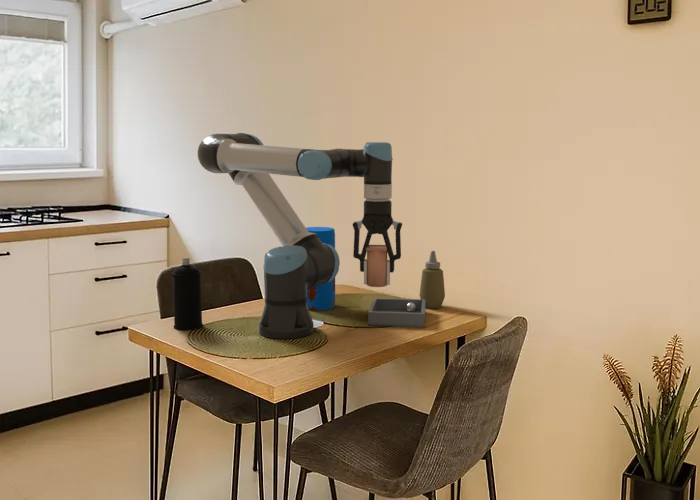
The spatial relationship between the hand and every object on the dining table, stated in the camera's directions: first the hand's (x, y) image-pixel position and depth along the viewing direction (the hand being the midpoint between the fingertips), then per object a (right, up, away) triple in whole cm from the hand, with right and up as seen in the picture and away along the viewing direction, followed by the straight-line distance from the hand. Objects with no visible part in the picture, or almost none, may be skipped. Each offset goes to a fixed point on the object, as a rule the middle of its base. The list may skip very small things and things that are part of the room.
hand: (377, 283), depth 199 cm
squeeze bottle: (+19, -9, +31) cm, 37 cm away
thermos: (-18, -9, +31) cm, 37 cm away
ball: (+11, -8, +21) cm, 25 cm away
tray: (+7, -11, +16) cm, 21 cm away
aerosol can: (-54, -13, +7) cm, 56 cm away
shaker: (0, 0, 0) cm, 0 cm away
